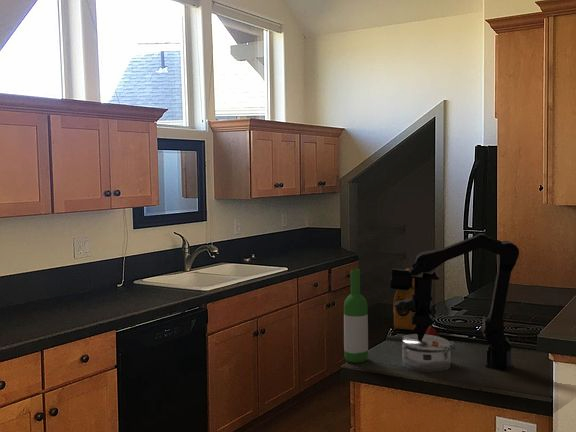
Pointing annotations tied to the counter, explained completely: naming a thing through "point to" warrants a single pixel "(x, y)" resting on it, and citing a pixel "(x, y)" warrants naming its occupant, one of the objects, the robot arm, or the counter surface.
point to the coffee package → (405, 318)
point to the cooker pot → (425, 359)
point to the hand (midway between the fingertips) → (419, 340)
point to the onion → (431, 331)
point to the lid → (423, 342)
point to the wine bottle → (355, 323)
